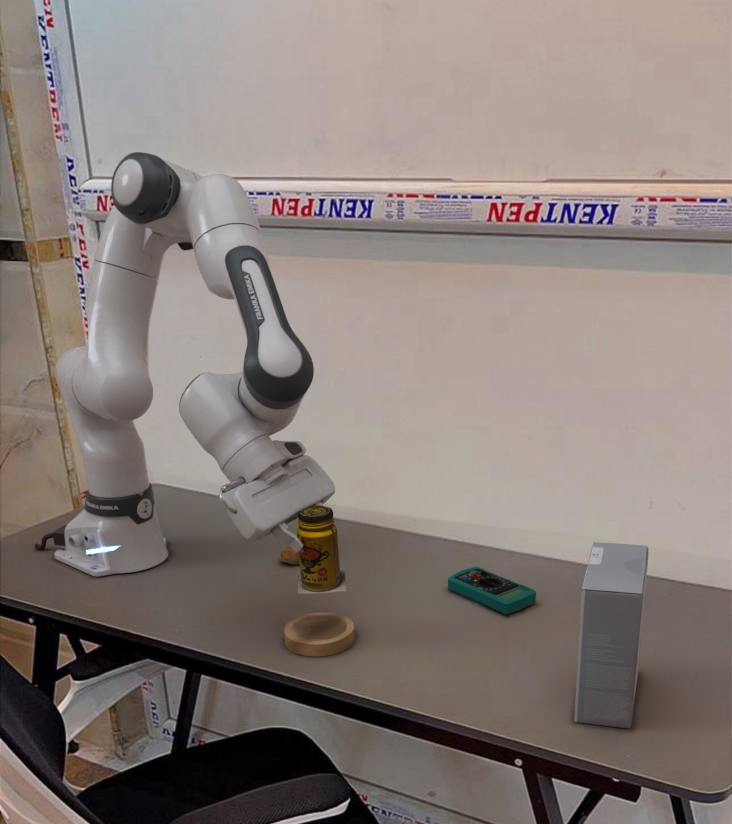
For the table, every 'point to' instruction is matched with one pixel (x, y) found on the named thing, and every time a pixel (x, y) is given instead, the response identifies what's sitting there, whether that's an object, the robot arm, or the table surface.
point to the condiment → (319, 552)
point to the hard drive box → (610, 634)
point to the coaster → (319, 634)
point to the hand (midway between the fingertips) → (316, 540)
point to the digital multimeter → (491, 590)
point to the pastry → (289, 556)
